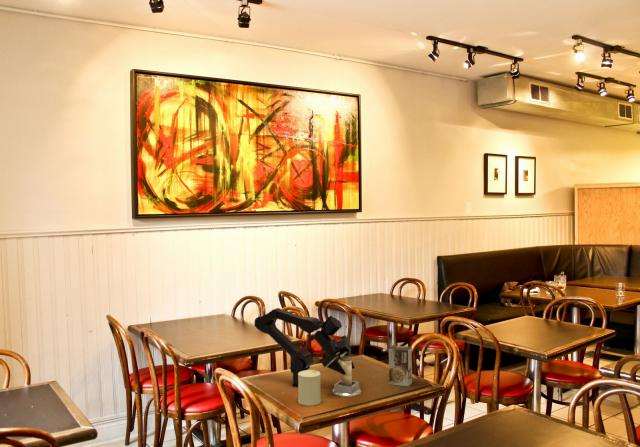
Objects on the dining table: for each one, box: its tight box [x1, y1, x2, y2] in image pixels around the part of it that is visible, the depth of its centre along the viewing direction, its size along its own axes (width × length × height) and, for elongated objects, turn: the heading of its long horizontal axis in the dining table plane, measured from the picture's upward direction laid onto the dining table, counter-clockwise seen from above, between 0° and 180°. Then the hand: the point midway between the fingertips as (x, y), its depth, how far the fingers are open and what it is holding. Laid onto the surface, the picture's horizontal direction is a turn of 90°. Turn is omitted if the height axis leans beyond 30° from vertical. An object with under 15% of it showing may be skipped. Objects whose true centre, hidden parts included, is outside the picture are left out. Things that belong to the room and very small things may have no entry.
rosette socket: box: [332, 379, 362, 398], centre depth 232 cm, size 12×12×4 cm
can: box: [297, 369, 322, 407], centre depth 220 cm, size 9×9×12 cm
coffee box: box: [388, 345, 413, 388], centre depth 242 cm, size 9×6×16 cm
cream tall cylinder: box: [340, 355, 353, 386], centre depth 232 cm, size 4×4×14 cm
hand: (349, 371), depth 231 cm, fingers open, 9 cm apart
